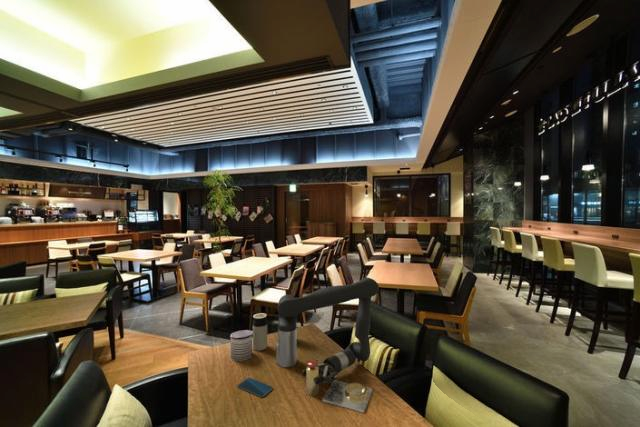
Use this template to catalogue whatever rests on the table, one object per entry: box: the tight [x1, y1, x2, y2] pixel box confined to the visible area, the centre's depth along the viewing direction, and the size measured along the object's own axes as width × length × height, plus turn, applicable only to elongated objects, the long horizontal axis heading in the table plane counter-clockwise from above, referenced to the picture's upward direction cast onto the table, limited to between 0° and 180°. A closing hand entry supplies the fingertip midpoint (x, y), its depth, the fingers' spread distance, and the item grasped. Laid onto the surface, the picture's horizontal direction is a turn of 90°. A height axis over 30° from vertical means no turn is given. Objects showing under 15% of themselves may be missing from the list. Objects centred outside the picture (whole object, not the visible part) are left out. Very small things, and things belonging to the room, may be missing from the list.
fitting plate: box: [321, 379, 373, 414], centre depth 113 cm, size 17×14×2 cm
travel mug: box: [252, 312, 268, 352], centre depth 154 cm, size 8×8×18 cm
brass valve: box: [305, 359, 320, 397], centre depth 116 cm, size 5×5×12 cm
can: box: [229, 329, 253, 362], centre depth 146 cm, size 11×11×12 cm
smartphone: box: [236, 377, 274, 399], centre depth 118 cm, size 8×15×1 cm, turn 60°
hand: (309, 377), depth 114 cm, fingers open, 8 cm apart
